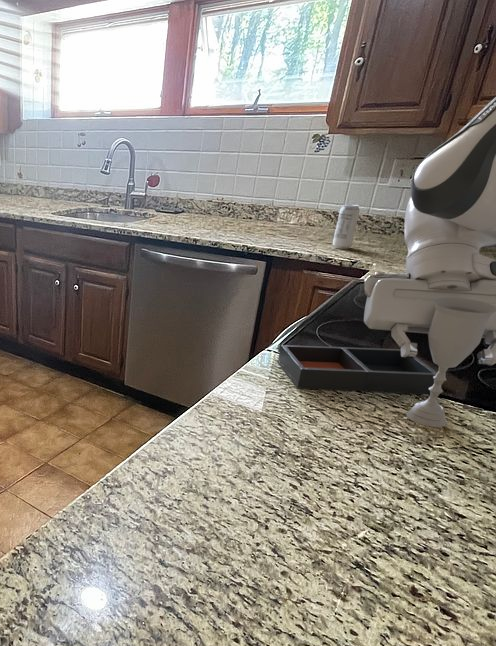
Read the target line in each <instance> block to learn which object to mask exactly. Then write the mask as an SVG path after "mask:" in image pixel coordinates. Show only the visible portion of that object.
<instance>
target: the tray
mask: <svg viewBox="0 0 496 646" xmlns="http://www.w3.org/2000/svg"><path fill="white" fill-rule="evenodd" d="M277 364H278V365H279V366H280V368H281V369H282V370H283V372H284V374H286V375H287V377H288V378H289V380H290V381H291V382H292V384H293V385H294V386H295V388H297V389H303V390H305V389H306V390H324V391H344V392H345V391H347V392H367V393H387V394H388V393H389V394H407V395H408V394H409V395H428V396H430V390H429V388H430V387H432V386H433V385H434V378H433V377H434V376H435V375H436V374H437V372H438V371H437V370H435V369H434V368H433V367H431V366H429V364H427V363H425V362H424V361H423V360H421V359H420V358H418V357H417V355H416V356H414V358H408V357H401V348H381V347H378V348H377V347H375V348H374V347H353V346H351V347H350V346H348V347H347V346H323V345H322V346H319V345H296V344H295V345H294V344H281V345H280V348H279V354H278V357H277Z"/></svg>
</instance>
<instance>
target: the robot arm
mask: <svg viewBox="0 0 496 646" xmlns="http://www.w3.org/2000/svg"><path fill="white" fill-rule="evenodd" d="M403 230H404V231H403V232H404V243H405V246H406V247H407V255H406V257H405V273H401V272H393V273H387V272H384V271H382V272H381V271H379V272H378V271H377V272H375V273H374V274H371V275H368V276H367V277H365V279H364V281H363V293H364V294H365V296H366V301H365V306H364V313H363V323H364V324H365V326H367V328H368V329H370V330H378V331H380V330H381V331H390V334H391V338H392V339H393V340H394V341H395V343H396V344H397V345H398V347H400V349H401V357H408V358H414V356H416V357H417V355H418V351H419V350H418V342H411V340H410V338H409V337H408V336H407V334H406V333H414V334H415V333H416V334H426V335H428V333H429V330H430V327H431V323H432V320H433V317H434V314H435V311H436V307H435V303H434V300H435V299H438V298H464V299H471V300H476V301H481V302H484V303H488V304H490V305H493V306H495V307H496V259H494V258H491V257H488V256H486V255H483V254H481V253H480V249H482V248H488V247H493V246H496V96H494V98H493V99H492V100H490V101H489V102H488V103H487V105H485V106H484V107H483V108H482V109H481V110H480V111H479V112H478V113H477V114H476V115H475V116H474V117H473V118H471V120H470V121H469V122H467V123H466V125H464V126H463V127H462V128H461V129H460V130H459V131H457V133H455V134H453V136H451V137H450V138H449V139H447V140H446V141H445V142H443V143H442V144H441V145H439V146H438V147H437V148H435V149H433V151H431V152H430V153H429V154H428V155H427V156H425V157H424V158H423V159H422V160H421V162H420V163H419V164H418V166H417V167H416V168H415V170H414V172H413V174H412V176H411V181H410V197H409V199H408V202H407V205H406V209H405V214H404V229H403ZM481 339H484V344H486V345H489V346H488V347H487V348H483V349H482V350H481V351H479V352H478V353H477V354H476V355H477V359H478V360H477V363H478V365H485V366H493V365H495V364H496V312H494V313H493V314H492V315H491V316H490V317H489V319H488V322H487V324H486V327H485V330H484V333H483V335H482V338H481Z"/></svg>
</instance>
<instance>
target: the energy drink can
mask: <svg viewBox="0 0 496 646" xmlns="http://www.w3.org/2000/svg"><path fill="white" fill-rule="evenodd" d="M359 207H360V205H359V204H354V203H353V204H351V203H350V204H349V203H348V204H347V203H346V204H342V207H341V208H340V209H339V213H338V217H337V222H336V226H335V231H334V236H333V240H332V246H333V248H335V249H339V250H349V249H350V247H352V246H353V243H354V242H353V241H354V236H355V233H356V228H357V225H358V220H359V215H360V213H361V210H360V208H359Z"/></svg>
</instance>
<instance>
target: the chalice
mask: <svg viewBox="0 0 496 646" xmlns="http://www.w3.org/2000/svg"><path fill="white" fill-rule="evenodd" d="M434 303H435V307H436V311H435V314H434V317H433V320H432V323H431V327H430V330H429V333H428V334H427V336H428V347H429V351H430V355H431V358H432V362H433V364H435V365H436V366H438V371H437V374H436V375H435V376H434V377H433V378H434V385H433V386H432V387H430V388H429V390H430V395H429V397H428V398H427V399H425V400H419V401H418V402H416V403H414V405H413V406H412V407H410V409H409V410H408V411H406V413H405V416H406V417H407V418H408V419H409V420H411V421H412V422H414V423H416V424H419V425H422V426H426V427H430V428H442V427H443V428H444V427H446V426H447V425H448V422H447V419H446V418H447V415H446V411H445V409H444V407H443V405H441V404H439V402H438V397H439V396H440V394H443V392H444V390H443V389H442V385H443V384H444V382H446V381H447V378H446V373H447V371H448V369H451V368H456V367H457V366H458V365H460V364H461V363H462V362H463V361H464V360H465V359H467V357H469V356H470V355H471V354H472V353H473V352H474V351H475V350H476V348H477V347H478V346H479V345H480V343H481V341H482V339H483V338H482V335H483V333H484V330H485V327H486V324H487V322H488V319H489V317H490V316H491V315H492V314H493V313H494V312H496V307H495V306H493V305H490V304H488V303H484V302H481V301H476V300H471V299H464V298H438V299H435V300H434Z"/></svg>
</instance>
